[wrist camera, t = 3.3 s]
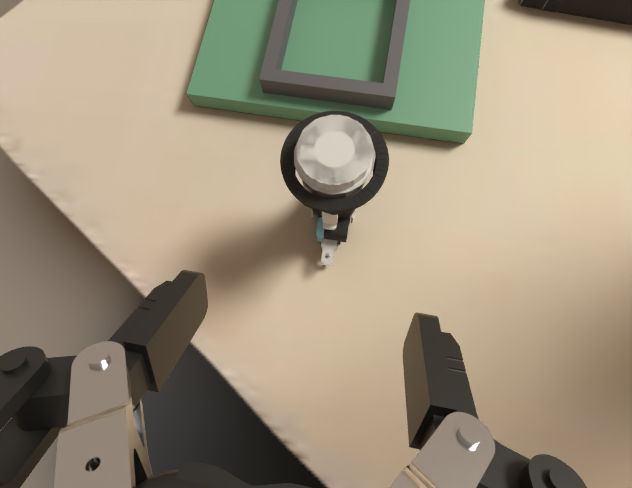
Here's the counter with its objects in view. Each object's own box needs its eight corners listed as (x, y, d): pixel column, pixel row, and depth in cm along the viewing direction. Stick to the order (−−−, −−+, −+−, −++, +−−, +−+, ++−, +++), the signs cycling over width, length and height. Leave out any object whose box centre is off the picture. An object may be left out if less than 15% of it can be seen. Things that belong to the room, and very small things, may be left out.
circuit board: (482, -40, 30) (505, -94, 26) (463, 143, 26) (487, 112, 22) (242, -63, 31) (230, -117, 28) (194, 105, 28) (171, 70, 24)
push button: (361, 271, 24) (382, 239, 14) (289, 260, 25) (262, 223, 15) (372, 185, 26) (397, 104, 16) (303, 177, 26) (287, 92, 16)
